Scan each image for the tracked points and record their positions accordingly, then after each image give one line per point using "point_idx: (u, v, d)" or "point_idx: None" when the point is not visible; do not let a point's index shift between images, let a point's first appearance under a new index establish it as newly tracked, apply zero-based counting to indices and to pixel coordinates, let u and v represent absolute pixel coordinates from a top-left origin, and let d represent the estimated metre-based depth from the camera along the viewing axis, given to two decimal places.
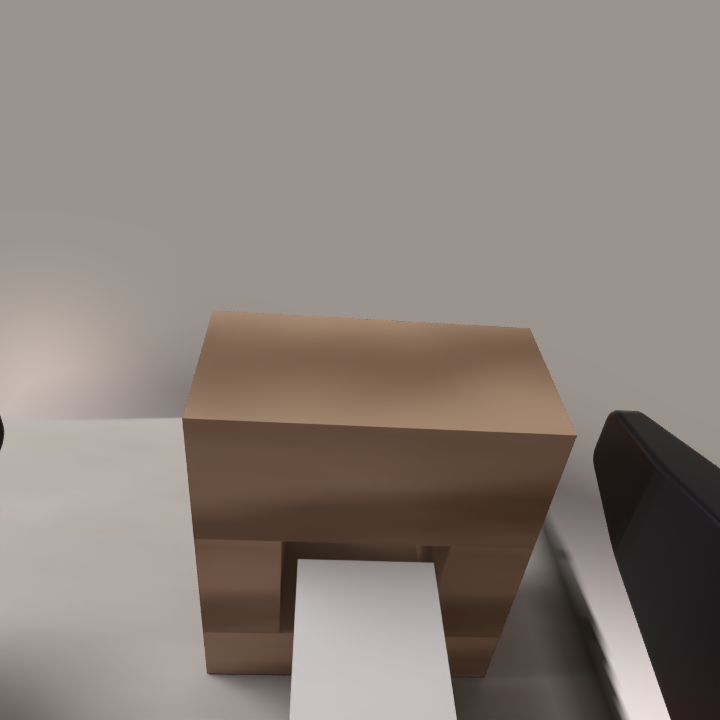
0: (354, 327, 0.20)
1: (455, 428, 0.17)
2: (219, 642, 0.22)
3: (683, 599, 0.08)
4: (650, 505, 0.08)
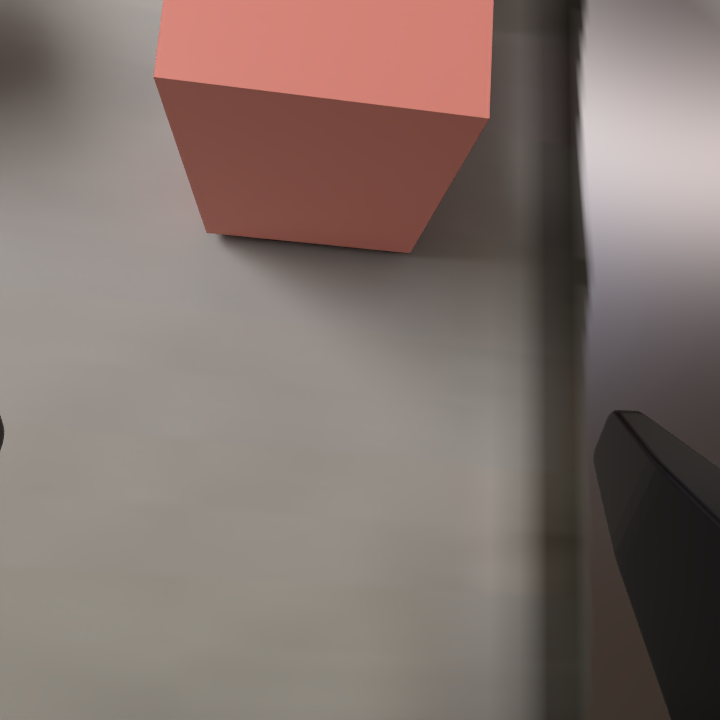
0: None
1: None
2: None
3: (683, 599, 0.08)
4: (650, 505, 0.08)
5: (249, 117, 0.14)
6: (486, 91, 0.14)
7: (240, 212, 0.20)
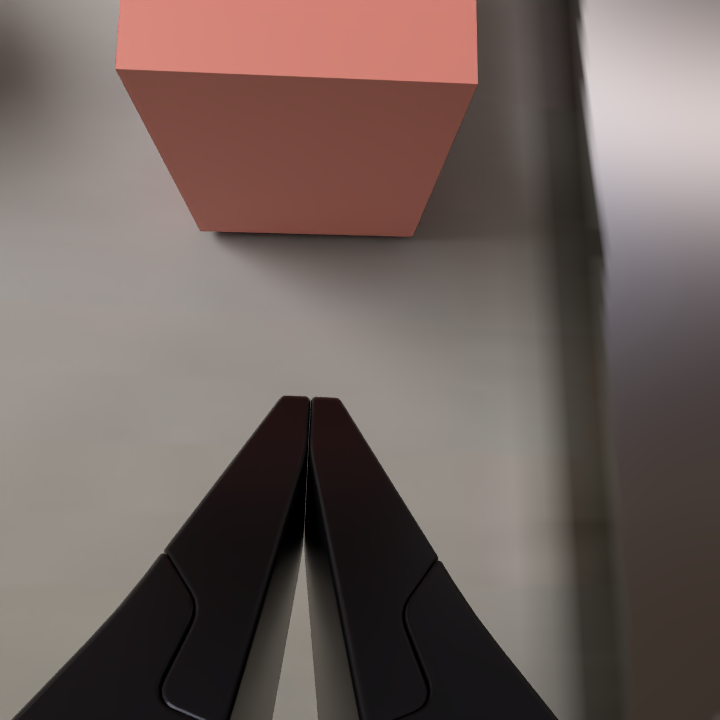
0: None
1: None
2: None
3: (316, 591, 0.07)
4: (308, 494, 0.08)
5: (222, 104, 0.14)
6: (472, 55, 0.13)
7: (230, 207, 0.19)
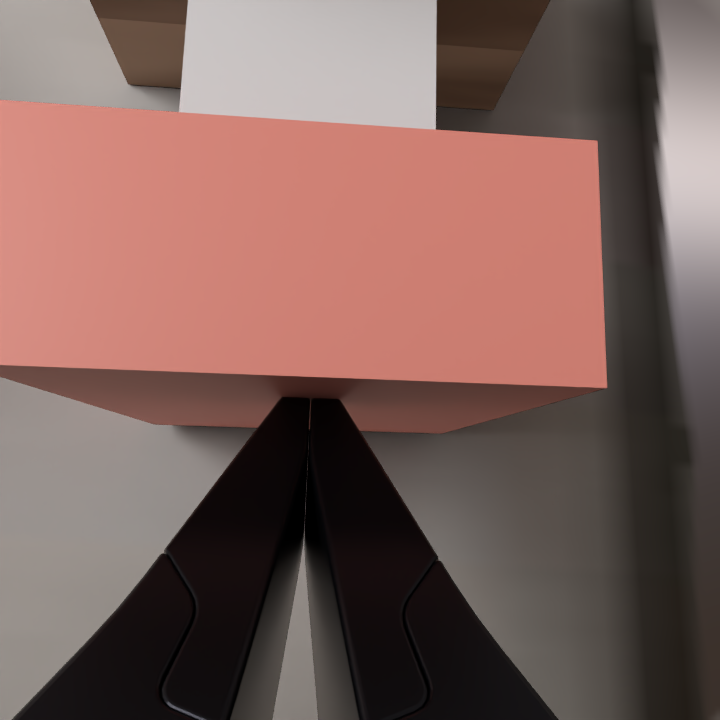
0: None
1: None
2: (127, 37, 0.16)
3: (316, 591, 0.07)
4: (308, 494, 0.08)
5: (162, 385, 0.08)
6: (597, 334, 0.07)
7: (192, 419, 0.14)
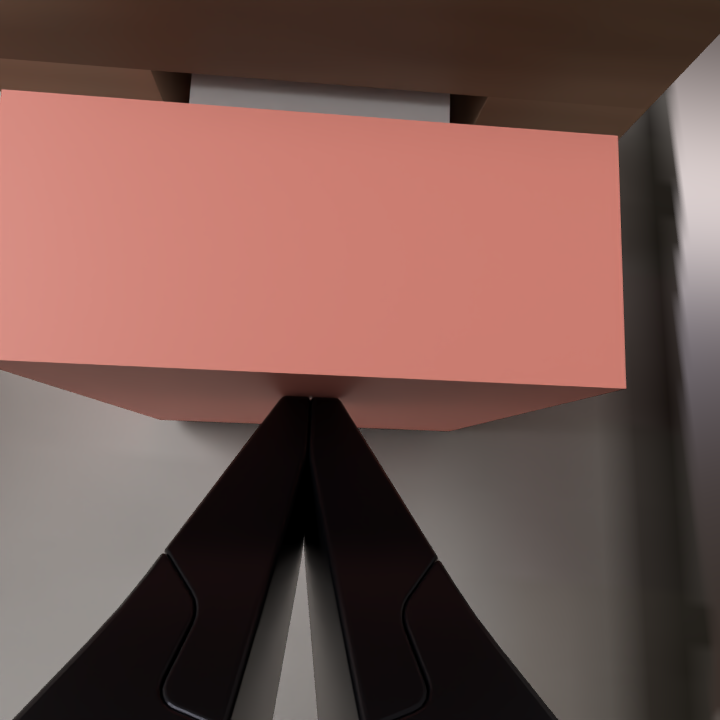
0: None
1: None
2: None
3: (315, 591, 0.07)
4: (307, 494, 0.08)
5: (171, 381, 0.08)
6: (615, 334, 0.07)
7: (199, 414, 0.13)
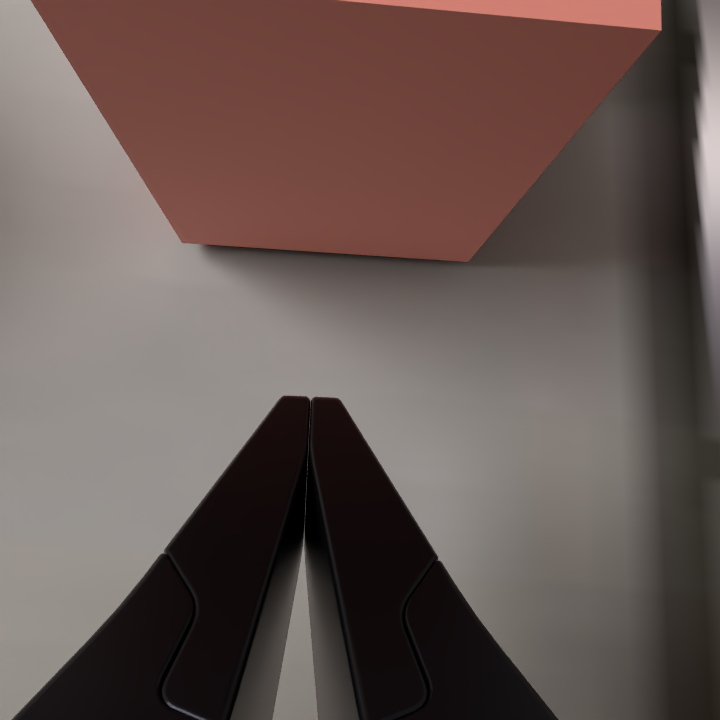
0: None
1: None
2: None
3: (316, 591, 0.07)
4: (308, 494, 0.08)
5: (208, 52, 0.08)
6: None
7: (223, 215, 0.14)
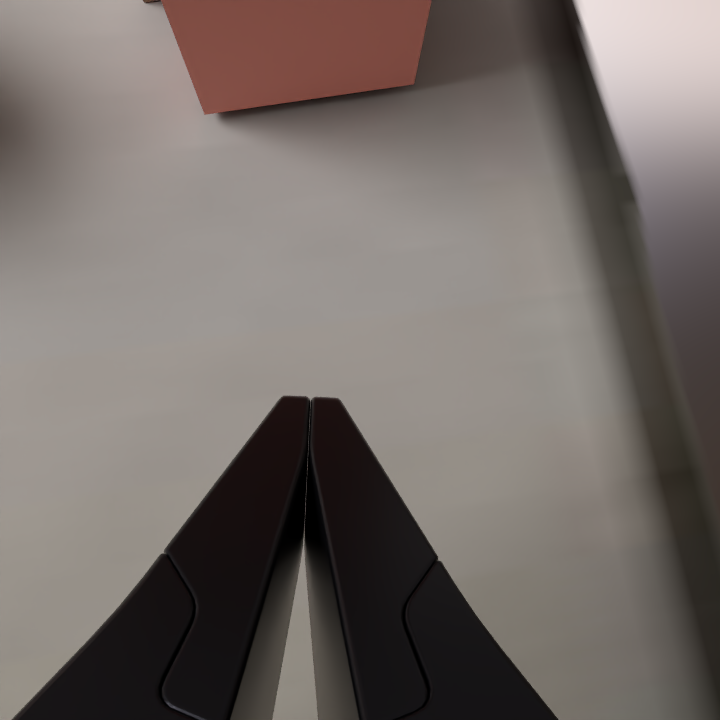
0: None
1: None
2: None
3: (316, 591, 0.07)
4: (308, 494, 0.08)
5: None
6: None
7: (233, 71, 0.19)
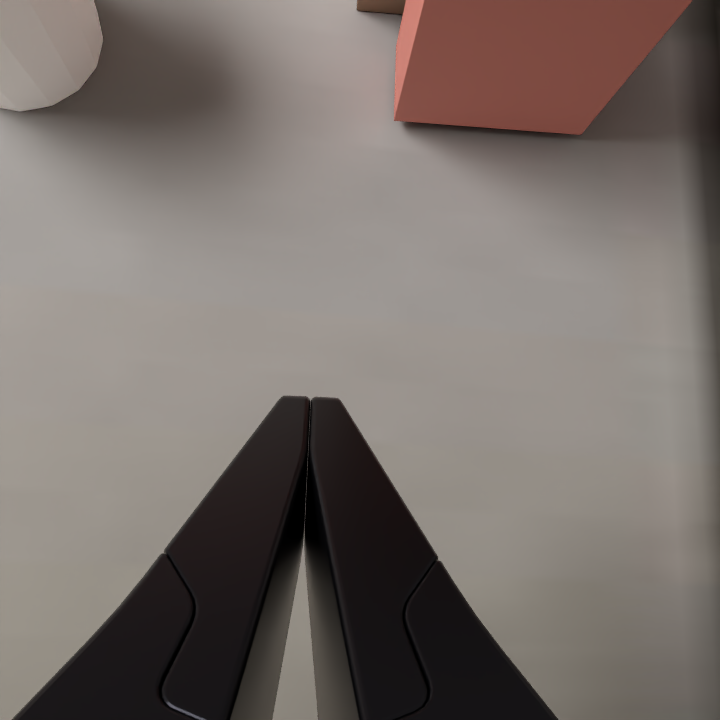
0: None
1: None
2: None
3: (316, 591, 0.07)
4: (308, 494, 0.08)
5: None
6: None
7: (440, 90, 0.22)
